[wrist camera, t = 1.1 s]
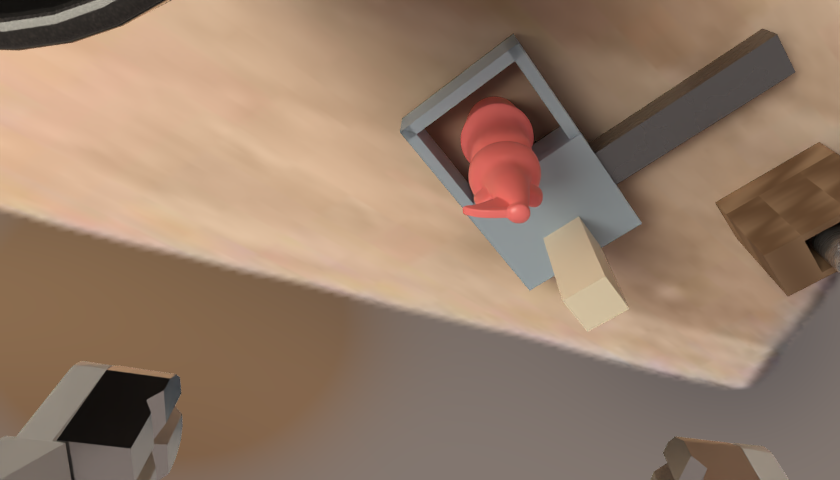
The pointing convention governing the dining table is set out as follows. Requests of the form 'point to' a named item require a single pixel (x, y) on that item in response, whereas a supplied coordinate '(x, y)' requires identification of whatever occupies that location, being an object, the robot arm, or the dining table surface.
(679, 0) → the dining table surface
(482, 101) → the figurine
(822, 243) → the button
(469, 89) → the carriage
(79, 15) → the planter
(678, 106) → the rail
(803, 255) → the box
